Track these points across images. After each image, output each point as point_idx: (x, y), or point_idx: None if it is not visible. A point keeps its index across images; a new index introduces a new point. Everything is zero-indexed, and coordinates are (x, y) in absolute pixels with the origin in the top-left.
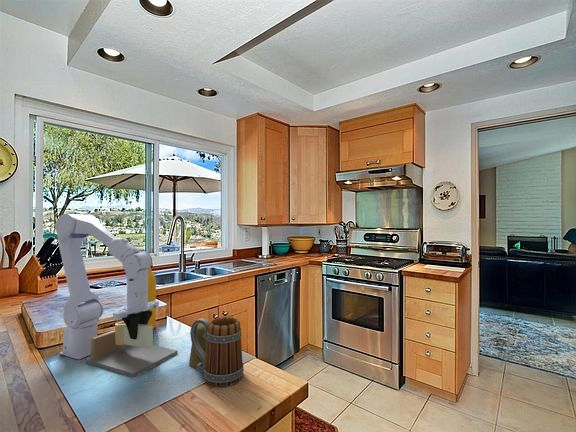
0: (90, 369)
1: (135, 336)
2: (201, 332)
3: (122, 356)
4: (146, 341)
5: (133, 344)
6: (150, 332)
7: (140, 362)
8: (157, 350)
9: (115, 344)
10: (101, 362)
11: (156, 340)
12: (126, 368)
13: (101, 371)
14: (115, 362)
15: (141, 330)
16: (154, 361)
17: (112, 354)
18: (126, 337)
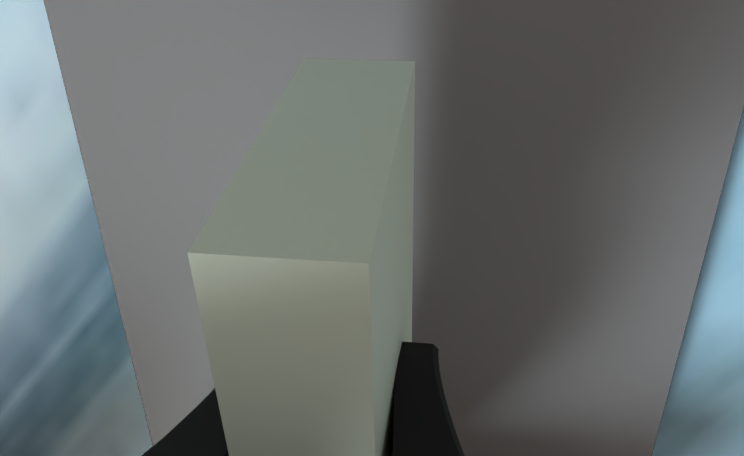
0: (719, 409)
1: (429, 367)
2: None
3: (463, 338)
4: (403, 129)
5: (409, 330)
6: (296, 176)
7: (503, 51)
8: (171, 126)
9: None
10: (641, 406)
11: (8, 349)
12: (694, 77)
13: (731, 303)
14: (601, 298)
15: (383, 355)
16: None
17: (469, 440)
18: None
